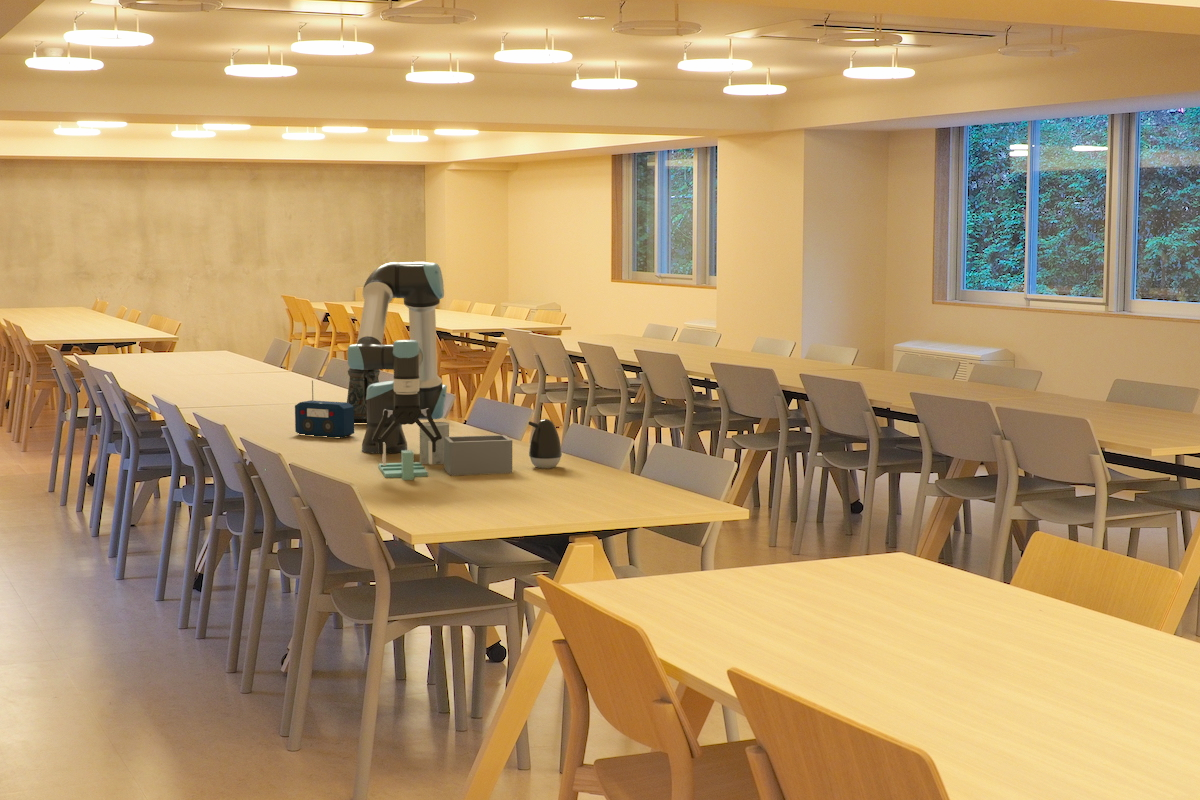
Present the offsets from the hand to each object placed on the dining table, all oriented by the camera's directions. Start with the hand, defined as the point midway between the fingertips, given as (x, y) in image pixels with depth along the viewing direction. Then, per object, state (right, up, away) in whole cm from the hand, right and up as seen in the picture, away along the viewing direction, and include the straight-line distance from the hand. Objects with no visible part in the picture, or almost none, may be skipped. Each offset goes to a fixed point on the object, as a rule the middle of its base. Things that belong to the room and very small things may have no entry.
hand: (407, 464), depth 379 cm
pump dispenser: (+40, -2, +22) cm, 45 cm away
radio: (-43, +6, +86) cm, 97 cm away
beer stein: (-34, +10, +123) cm, 128 cm away
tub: (+20, -3, +14) cm, 24 cm away
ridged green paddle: (-3, -3, +10) cm, 11 cm away
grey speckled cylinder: (+4, -1, +31) cm, 31 cm away
